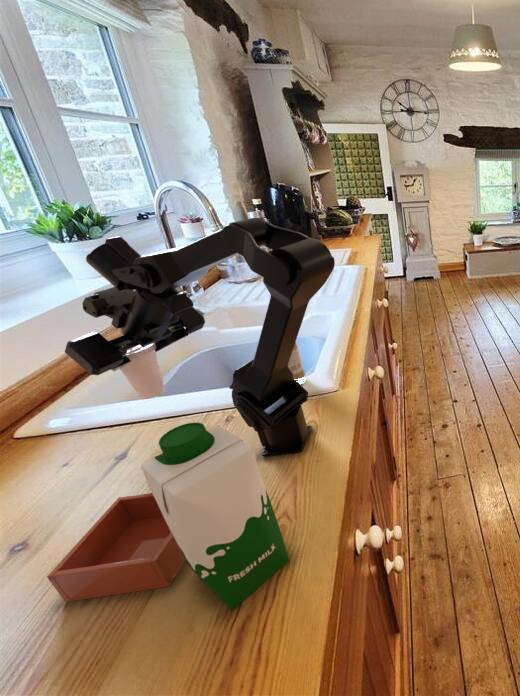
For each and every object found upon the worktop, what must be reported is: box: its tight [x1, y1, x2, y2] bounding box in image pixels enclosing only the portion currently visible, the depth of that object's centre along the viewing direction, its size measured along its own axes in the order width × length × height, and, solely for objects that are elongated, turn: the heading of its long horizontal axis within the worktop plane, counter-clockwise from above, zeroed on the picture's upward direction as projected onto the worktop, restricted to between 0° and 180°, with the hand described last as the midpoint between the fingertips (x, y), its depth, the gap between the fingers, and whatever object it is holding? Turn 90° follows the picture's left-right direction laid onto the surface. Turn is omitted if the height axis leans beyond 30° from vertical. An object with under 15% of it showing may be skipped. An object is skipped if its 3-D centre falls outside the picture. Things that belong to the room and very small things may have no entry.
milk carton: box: [140, 421, 291, 611], centre depth 46 cm, size 9×9×20 cm
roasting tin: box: [46, 492, 187, 603], centre depth 52 cm, size 11×11×4 cm
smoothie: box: [119, 328, 166, 400], centre depth 74 cm, size 6×6×14 cm
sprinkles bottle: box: [288, 341, 306, 381], centre depth 87 cm, size 5×5×13 cm
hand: (132, 360), depth 75 cm, fingers closed on smoothie, 6 cm apart
